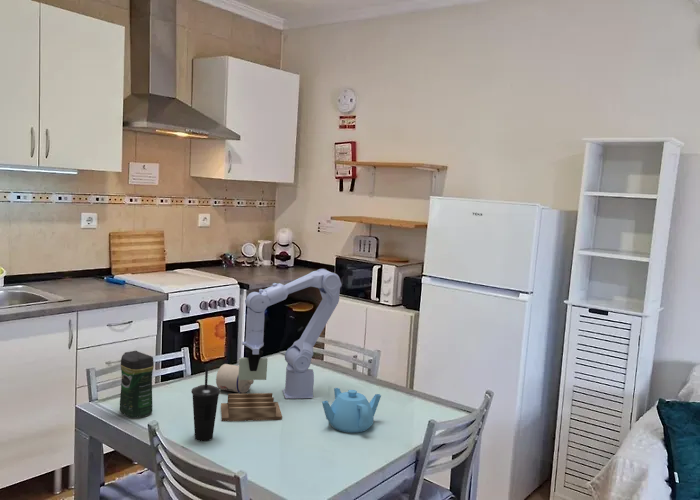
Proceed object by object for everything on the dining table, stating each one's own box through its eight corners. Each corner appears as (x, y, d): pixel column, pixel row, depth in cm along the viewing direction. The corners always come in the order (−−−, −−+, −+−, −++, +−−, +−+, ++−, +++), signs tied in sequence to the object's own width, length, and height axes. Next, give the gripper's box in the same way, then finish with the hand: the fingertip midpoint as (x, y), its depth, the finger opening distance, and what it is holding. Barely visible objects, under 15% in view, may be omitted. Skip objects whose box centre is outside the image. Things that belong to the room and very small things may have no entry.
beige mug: (213, 391, 200) (243, 396, 196) (217, 363, 200) (247, 368, 196) (232, 388, 211) (261, 393, 207) (235, 362, 212) (264, 366, 208)
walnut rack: (277, 404, 193) (278, 392, 193) (282, 419, 182) (282, 407, 181) (220, 406, 189) (221, 393, 189) (221, 421, 177) (222, 408, 177)
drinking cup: (223, 435, 168) (226, 366, 166) (208, 445, 161) (211, 373, 159) (199, 429, 170) (202, 361, 168) (184, 440, 163) (186, 369, 161)
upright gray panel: (265, 378, 198) (267, 357, 197) (266, 379, 197) (267, 359, 196) (238, 378, 196) (239, 357, 195) (238, 379, 194) (239, 358, 194)
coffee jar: (156, 414, 180) (158, 354, 177) (133, 421, 173) (134, 359, 171) (138, 405, 185) (140, 347, 183) (115, 411, 179) (116, 351, 177)
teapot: (317, 429, 176) (319, 394, 175) (333, 412, 191) (335, 379, 189) (366, 439, 172) (369, 403, 171) (379, 420, 186) (382, 387, 185)
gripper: (241, 323, 201) (239, 363, 202) (243, 334, 187) (241, 377, 188) (262, 323, 202) (260, 362, 204) (266, 335, 188) (264, 376, 190)
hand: (253, 369), depth 196 cm, fingers closed on upright gray panel, 2 cm apart
